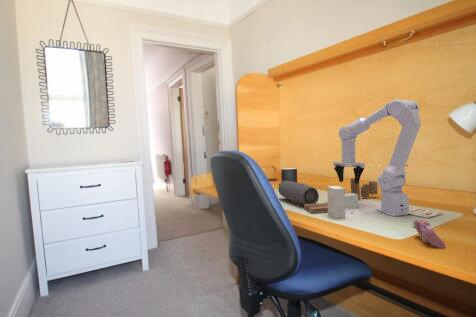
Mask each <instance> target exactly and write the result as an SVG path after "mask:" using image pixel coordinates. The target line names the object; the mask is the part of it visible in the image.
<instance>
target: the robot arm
mask: <svg viewBox="0 0 476 317" xmlns="http://www.w3.org/2000/svg"><path fill="white" fill-rule="evenodd" d="M387 117H392V118H394V119H395V120H396V121H397V122H398V123H399V124H400V126H401V130H400V132H399V135H398V137H397V141H396V143H395V145H394V149H393V153H392V155H391V158H390V161H389V163H388V165H387V166H386V168H384V169H383V171H382V173H381V174H380V175H379V177H378V178H377V181H376V182H377V187H379V188H380V193H381V194H380V195H381V196H380V199H381V203H380V205H381V206H380V208H375V210H376V211H378V212H380V213H384V214H386V215H389V216H391V217H396V216H397V217H398V216H409V215H408V214H410V215H411V212H410V211H409V210H410V208H409V204H410V202H409V201H410V198H409V196H408V195H407V194H406V193H404V191H403V187H404V186H405V185H406V174H407V171H406V170H405V169H406V165H407V162H408V160H409V157H410V154H411V152H412V149H413V147H414V144H415V141H416V138H417V137H418V133H419V131H420V128H421V123H422V122H421V118H420V106H419V105H418V104H417V103H416V102H415V101H413V100H410V99H409V100H406V99H405V100H404V99H399V98H397V99H394V100H392V101H390V102H388V103H387V102H386V103H385V105H384V106H382V107H381V108H379V109H378V110H376V111H375V112H373V113H371V114H370V115H369V116H367V117H358V118H356V120H355V121H354V122H352V123H348V125H347V126H342V127H340V129H339V130H338V137H339V138H340V139H341V140H340V141H341V161H334V162H332V163H333V164H332V165H333V169H334V171H335V172H336V174H337V177H338V181H339V183H342V182H344V174H345V167H346V168H349V167H350V168H353V169H352V170H353V174H354V178H355V184H357V183H359V184H360V179H361V176H362V173H363V172H364V170H365V168H366V163H365V162H356V142H357V141H356V139H357V138H358V136H359V135H361V134H362V133H364V132H366V131H368V130H370V128H371V125H373V124H376V123H377V122H379V121H381V120H383V119H386V118H387Z"/></svg>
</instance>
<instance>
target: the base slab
mask: <svg viewBox="0 0 476 317" xmlns="http://www.w3.org/2000/svg"><path fill="white" fill-rule="evenodd" d="M303 207H304V210H305V211H306V212H308V213H310V214H311V215H315V214H317V215H318V214H328V202H321V203H318V202H317V203H316V204H305V205H303Z"/></svg>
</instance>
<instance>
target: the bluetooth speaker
mask: <svg viewBox="0 0 476 317" xmlns="http://www.w3.org/2000/svg"><path fill="white" fill-rule="evenodd" d="M277 189H278V193H279V195H280V196H282V197H283V198H285V199H287V200H289V202H291V203H293V204H296V205H300V206H304V205H305V204H317V203H318V201H319V198H320V194H319V191H318V190H317V189H316V188H315V187H314V186H313V187H312V186H310V185H307V184H304V183H301V182H295V181H290V180H283V181H281V182H280V183H279V185H278V188H277Z"/></svg>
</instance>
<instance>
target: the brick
mask: <svg viewBox="0 0 476 317" xmlns="http://www.w3.org/2000/svg"><path fill="white" fill-rule="evenodd" d="M356 207H358V208H359V200H358V195H357V194H354V193H351V192H349V193H345V210H347V209H346V208H348V209H357V208H356Z"/></svg>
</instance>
